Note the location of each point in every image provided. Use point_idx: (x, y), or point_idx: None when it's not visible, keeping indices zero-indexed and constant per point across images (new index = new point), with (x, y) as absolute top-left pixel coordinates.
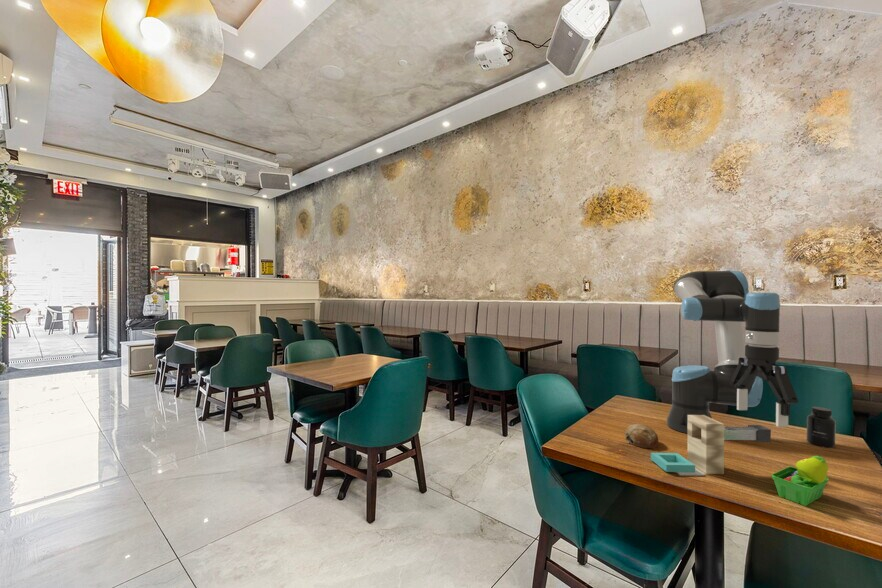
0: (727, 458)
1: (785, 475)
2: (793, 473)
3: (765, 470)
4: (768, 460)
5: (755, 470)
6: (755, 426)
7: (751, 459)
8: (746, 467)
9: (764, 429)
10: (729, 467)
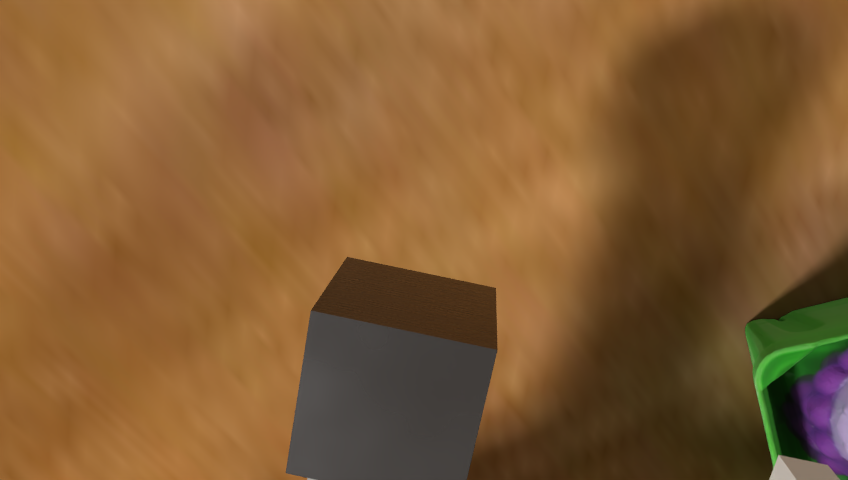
0: (249, 328)
1: None
2: (816, 420)
3: (480, 244)
4: (326, 16)
5: None
6: (350, 429)
7: (289, 150)
8: None
9: (475, 430)
10: None
